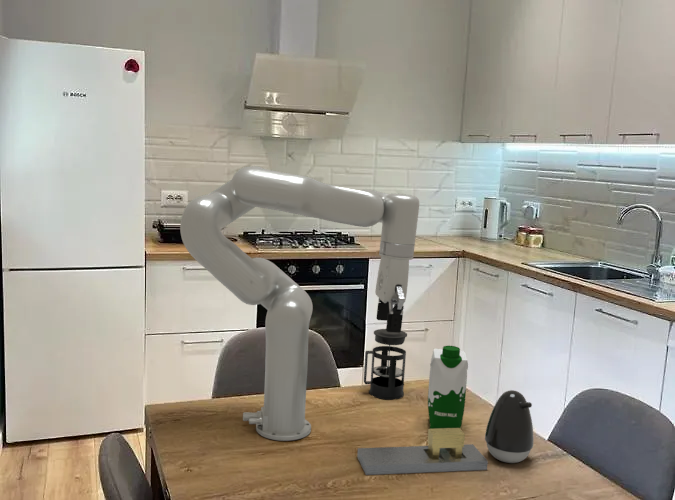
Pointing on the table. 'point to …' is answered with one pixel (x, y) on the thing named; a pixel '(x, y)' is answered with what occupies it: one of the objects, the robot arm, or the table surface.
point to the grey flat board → (418, 460)
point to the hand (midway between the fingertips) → (388, 325)
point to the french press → (387, 381)
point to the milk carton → (447, 387)
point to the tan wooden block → (445, 442)
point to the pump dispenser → (510, 428)
